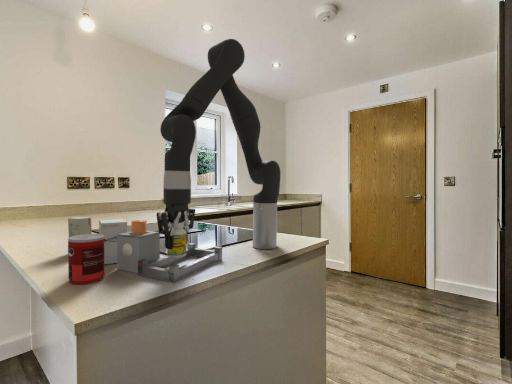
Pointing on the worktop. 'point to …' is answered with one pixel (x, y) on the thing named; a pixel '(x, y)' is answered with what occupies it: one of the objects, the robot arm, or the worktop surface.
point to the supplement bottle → (178, 242)
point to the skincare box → (79, 226)
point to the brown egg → (138, 227)
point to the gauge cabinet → (137, 249)
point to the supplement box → (111, 237)
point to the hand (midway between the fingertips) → (176, 246)
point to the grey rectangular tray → (175, 272)
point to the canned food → (86, 258)
